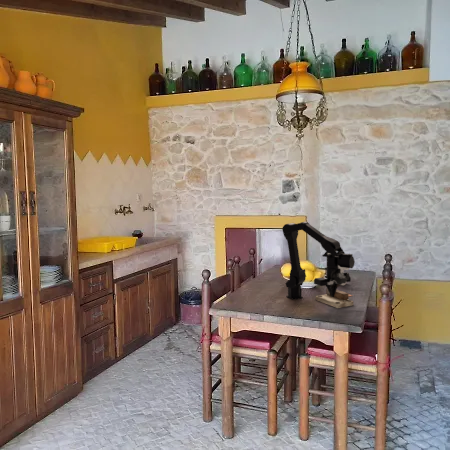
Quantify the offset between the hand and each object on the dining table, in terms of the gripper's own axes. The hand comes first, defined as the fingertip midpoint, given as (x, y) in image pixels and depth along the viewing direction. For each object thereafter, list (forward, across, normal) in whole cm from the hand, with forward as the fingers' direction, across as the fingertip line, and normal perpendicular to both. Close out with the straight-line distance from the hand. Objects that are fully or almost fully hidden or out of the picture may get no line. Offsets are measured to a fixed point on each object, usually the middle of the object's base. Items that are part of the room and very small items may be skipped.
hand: (332, 296), depth 217 cm
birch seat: (+4, +3, +2) cm, 5 cm away
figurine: (+4, +31, +30) cm, 43 cm away
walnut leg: (+2, +6, +4) cm, 7 cm away
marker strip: (+4, +14, +9) cm, 17 cm away
